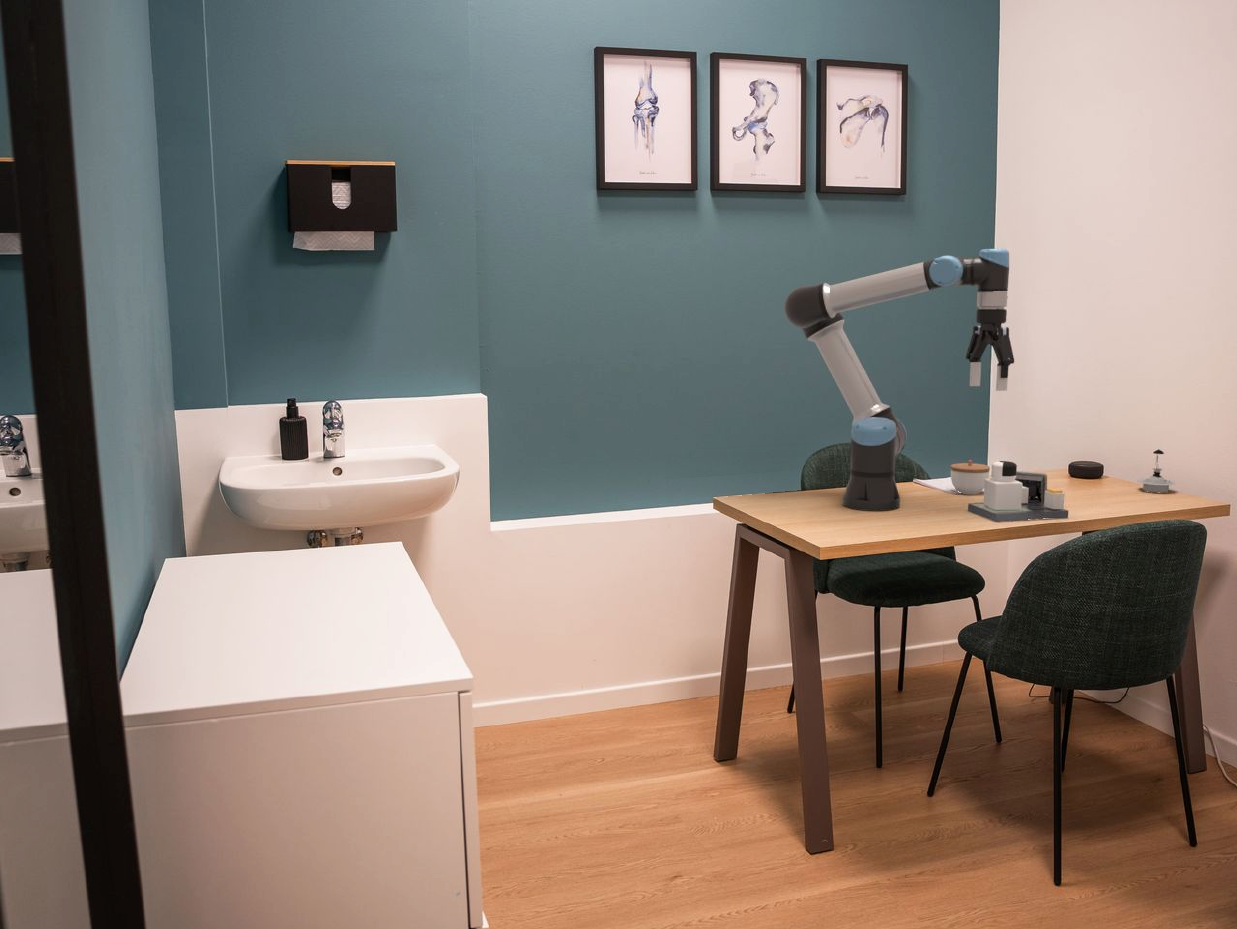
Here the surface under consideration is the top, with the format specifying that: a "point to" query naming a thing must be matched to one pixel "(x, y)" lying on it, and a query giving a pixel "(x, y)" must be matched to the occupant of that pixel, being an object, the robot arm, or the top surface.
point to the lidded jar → (969, 477)
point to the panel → (1018, 512)
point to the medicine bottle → (1003, 487)
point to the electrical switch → (1033, 484)
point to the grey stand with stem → (1156, 480)
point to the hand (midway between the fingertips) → (987, 388)
